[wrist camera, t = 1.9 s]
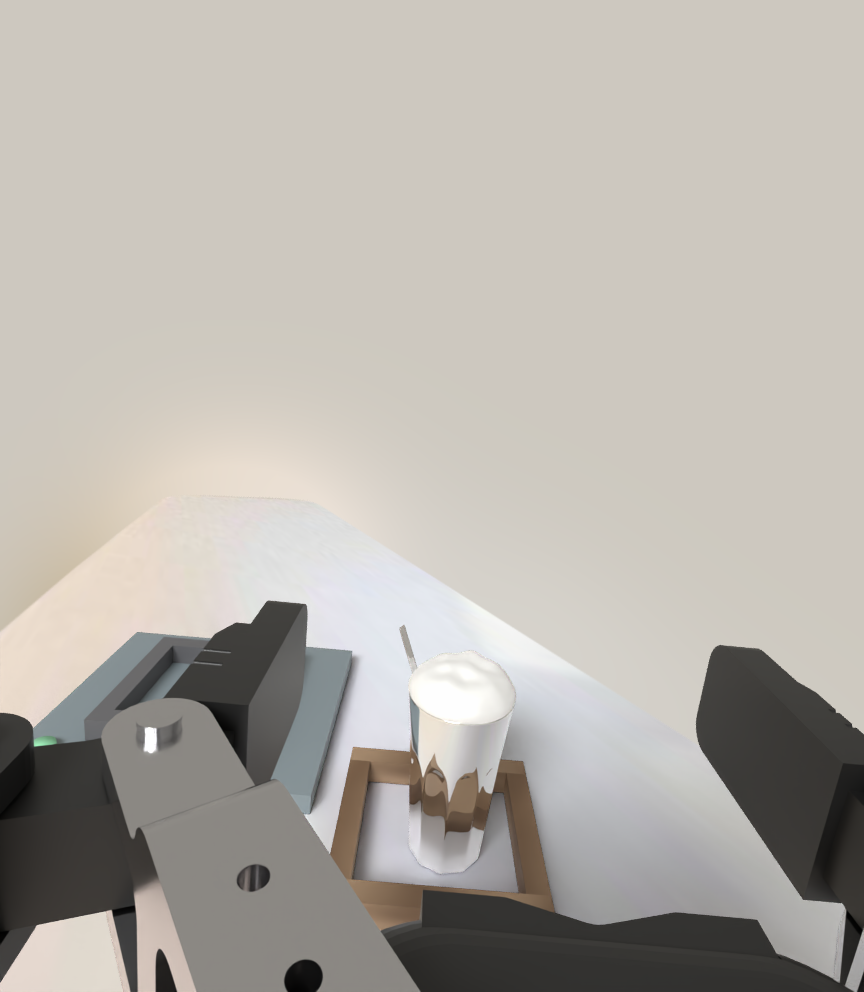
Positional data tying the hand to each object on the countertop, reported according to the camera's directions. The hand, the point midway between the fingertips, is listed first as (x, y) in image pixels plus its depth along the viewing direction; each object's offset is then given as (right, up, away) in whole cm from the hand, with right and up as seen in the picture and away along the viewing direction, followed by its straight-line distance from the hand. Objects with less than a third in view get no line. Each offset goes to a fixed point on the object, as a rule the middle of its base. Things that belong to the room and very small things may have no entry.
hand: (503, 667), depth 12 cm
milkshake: (-1, -13, +16) cm, 20 cm away
